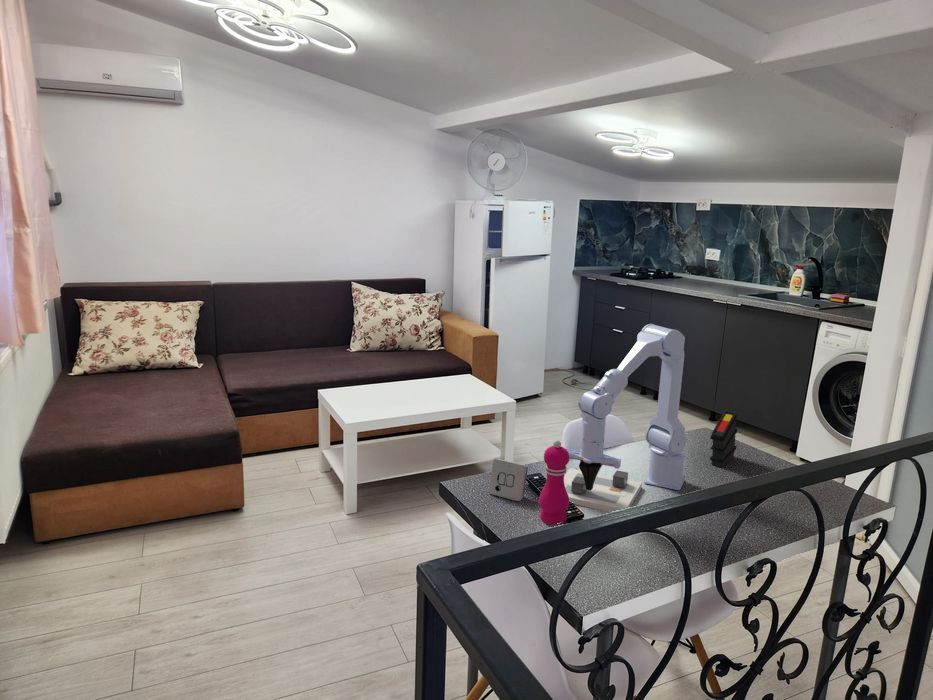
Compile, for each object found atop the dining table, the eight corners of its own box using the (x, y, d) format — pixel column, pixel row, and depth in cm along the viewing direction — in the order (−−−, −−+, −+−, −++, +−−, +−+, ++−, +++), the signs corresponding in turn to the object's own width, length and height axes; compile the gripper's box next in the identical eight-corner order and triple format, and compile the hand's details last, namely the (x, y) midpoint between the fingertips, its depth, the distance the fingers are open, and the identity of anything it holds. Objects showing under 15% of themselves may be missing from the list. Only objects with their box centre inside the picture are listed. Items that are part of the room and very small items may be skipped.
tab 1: (587, 488, 171) (587, 478, 171) (582, 494, 168) (583, 484, 167) (576, 486, 173) (576, 476, 172) (571, 491, 169) (571, 481, 168)
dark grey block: (627, 482, 175) (628, 472, 175) (623, 487, 172) (624, 478, 171) (616, 480, 177) (616, 470, 176) (612, 485, 173) (613, 475, 173)
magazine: (739, 449, 201) (737, 412, 193) (723, 478, 193) (720, 441, 186) (726, 446, 203) (724, 409, 196) (710, 475, 196) (707, 437, 188)
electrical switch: (487, 494, 171) (490, 460, 170) (496, 488, 176) (499, 455, 174) (520, 503, 167) (523, 467, 165) (528, 497, 171) (531, 462, 170)
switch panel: (641, 488, 177) (641, 482, 176) (625, 515, 161) (625, 509, 161) (569, 473, 185) (570, 467, 185) (547, 497, 170) (548, 491, 169)
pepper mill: (532, 514, 161) (536, 437, 156) (558, 509, 163) (562, 433, 159) (547, 528, 154) (551, 447, 150) (574, 522, 157) (578, 443, 152)
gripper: (560, 438, 165) (557, 488, 168) (617, 449, 159) (613, 500, 162) (568, 430, 172) (566, 478, 175) (624, 440, 165) (620, 490, 168)
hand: (589, 488), depth 169 cm, fingers closed
